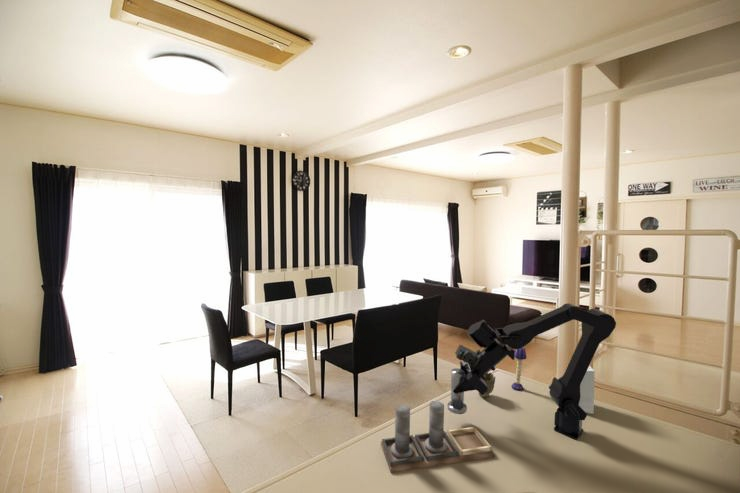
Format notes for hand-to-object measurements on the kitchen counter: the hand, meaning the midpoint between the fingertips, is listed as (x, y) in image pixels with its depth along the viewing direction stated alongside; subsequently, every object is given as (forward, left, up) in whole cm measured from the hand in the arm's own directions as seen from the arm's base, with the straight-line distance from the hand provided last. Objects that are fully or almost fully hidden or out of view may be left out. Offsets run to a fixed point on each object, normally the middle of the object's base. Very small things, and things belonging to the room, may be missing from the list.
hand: (453, 388), depth 107 cm
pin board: (-5, +15, -11) cm, 19 cm away
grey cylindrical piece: (-1, -1, -7) cm, 7 cm away
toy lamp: (-5, -37, -11) cm, 39 cm away
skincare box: (-25, -41, -11) cm, 49 cm away
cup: (+1, -22, -11) cm, 25 cm away
